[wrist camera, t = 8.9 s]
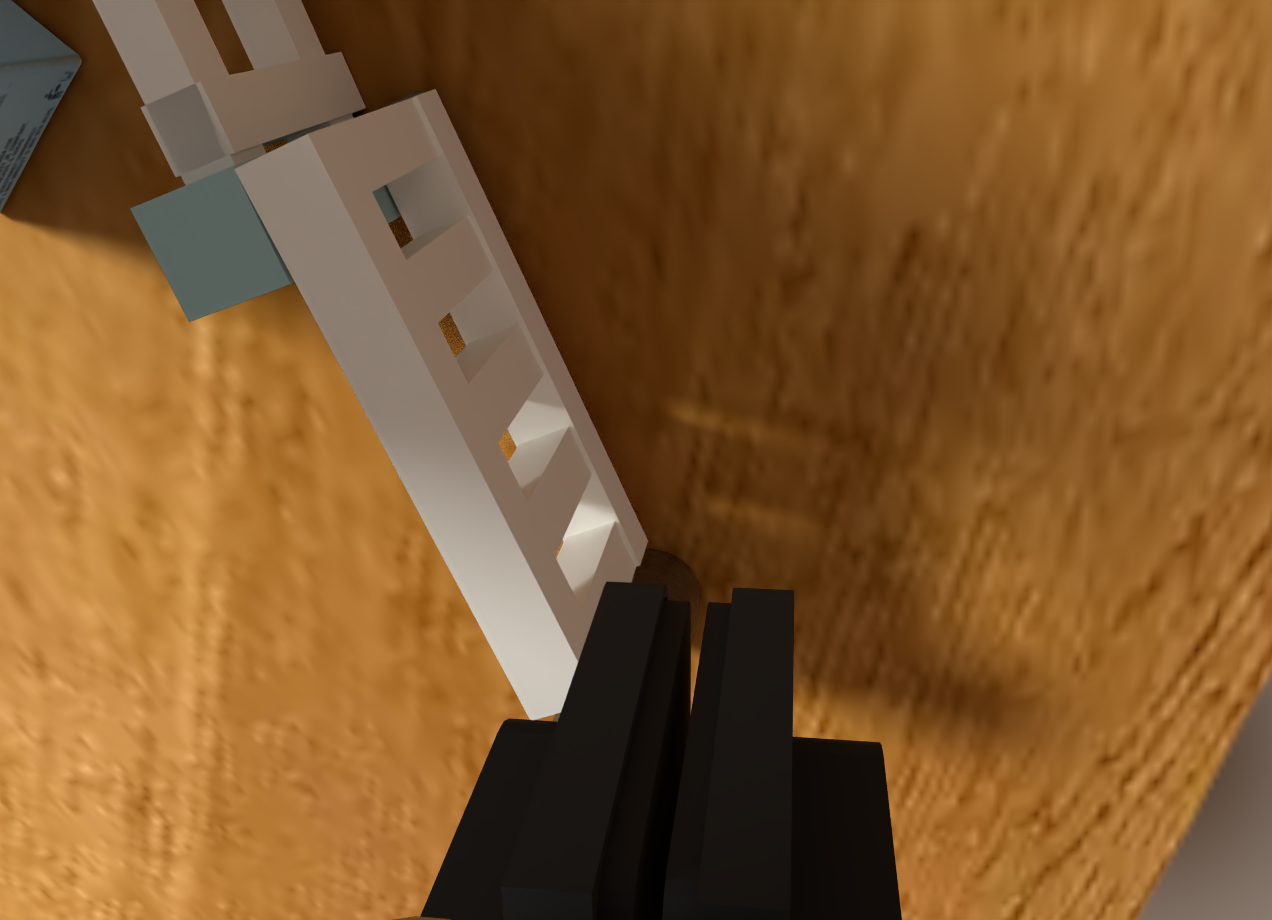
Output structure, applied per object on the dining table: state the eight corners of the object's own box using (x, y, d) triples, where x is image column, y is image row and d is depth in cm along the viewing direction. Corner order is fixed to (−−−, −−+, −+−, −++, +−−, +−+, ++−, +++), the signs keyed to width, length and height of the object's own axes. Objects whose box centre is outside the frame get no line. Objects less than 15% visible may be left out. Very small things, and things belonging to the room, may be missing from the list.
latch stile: (425, 200, 25) (289, 284, 19) (346, 230, 26) (189, 322, 19) (386, 110, 25) (232, 166, 18) (306, 143, 25) (129, 208, 19)
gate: (650, 531, 27) (598, 701, 21) (597, 549, 28) (530, 721, 22) (440, 81, 24) (304, 128, 18) (382, 108, 24) (231, 163, 18)
